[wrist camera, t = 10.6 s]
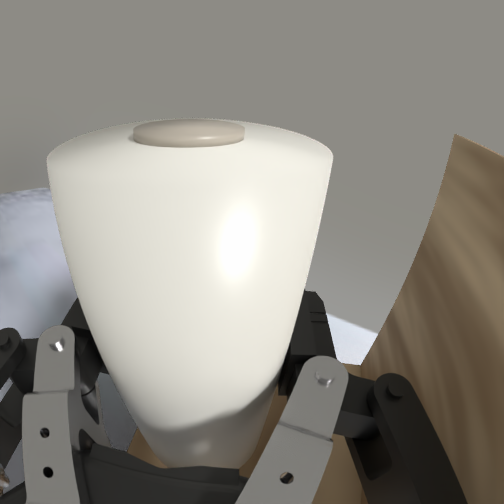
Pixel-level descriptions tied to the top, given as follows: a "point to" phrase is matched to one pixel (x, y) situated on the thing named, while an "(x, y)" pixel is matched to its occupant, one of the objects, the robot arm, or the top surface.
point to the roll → (191, 269)
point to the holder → (437, 337)
